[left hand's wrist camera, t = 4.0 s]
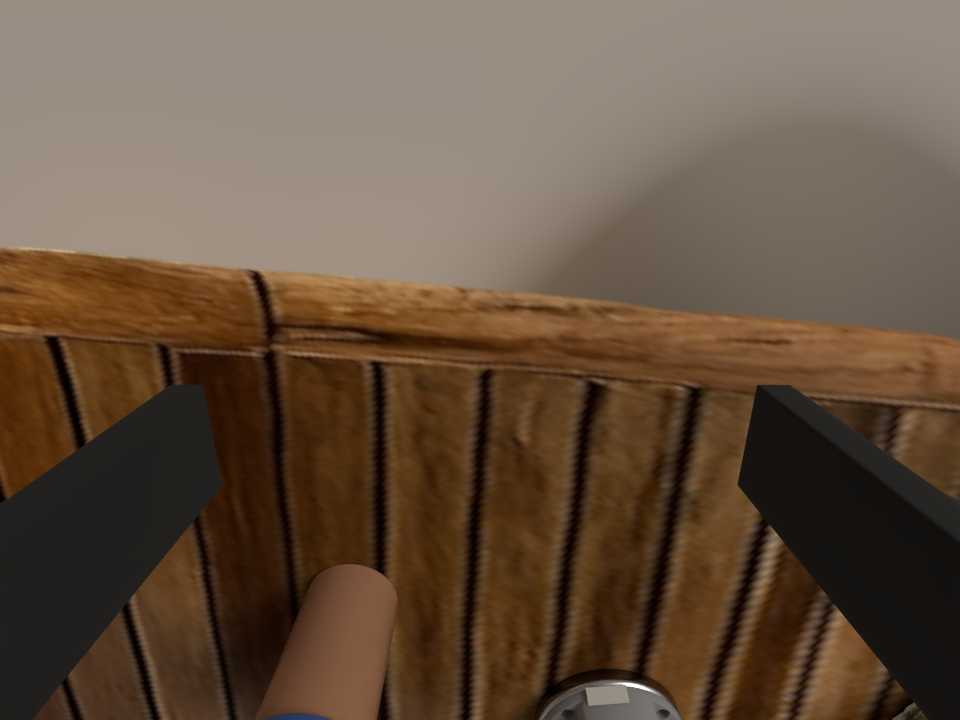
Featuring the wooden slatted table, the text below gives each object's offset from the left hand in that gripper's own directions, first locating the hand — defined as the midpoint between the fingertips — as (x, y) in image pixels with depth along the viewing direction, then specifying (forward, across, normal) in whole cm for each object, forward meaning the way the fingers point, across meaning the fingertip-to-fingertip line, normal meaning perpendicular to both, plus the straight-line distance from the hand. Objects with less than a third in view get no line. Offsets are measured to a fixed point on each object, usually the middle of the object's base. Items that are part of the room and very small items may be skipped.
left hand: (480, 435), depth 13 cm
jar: (+28, +12, +33) cm, 45 cm away
